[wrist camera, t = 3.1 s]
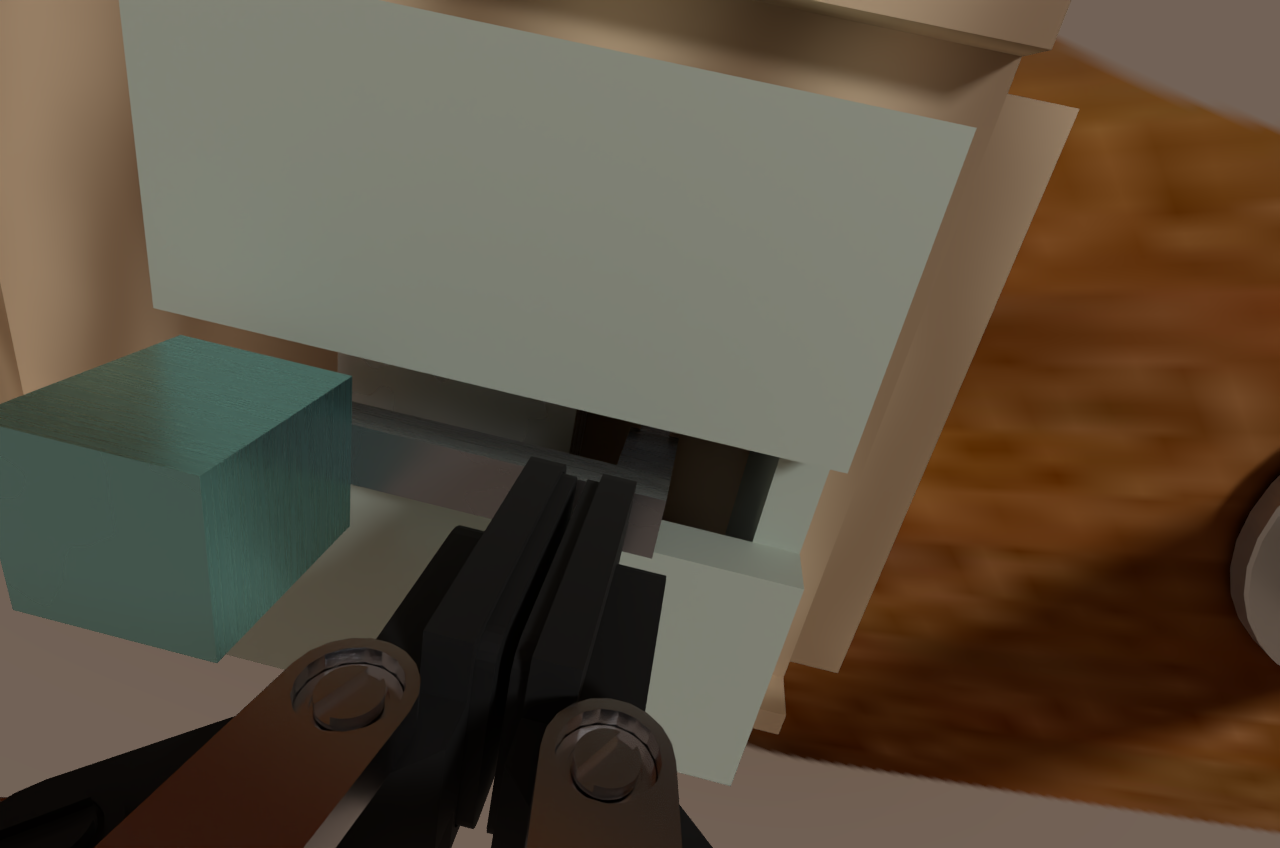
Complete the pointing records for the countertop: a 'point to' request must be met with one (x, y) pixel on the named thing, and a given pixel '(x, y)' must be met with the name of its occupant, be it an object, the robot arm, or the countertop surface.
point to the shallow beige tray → (626, 22)
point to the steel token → (464, 404)
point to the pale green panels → (545, 277)
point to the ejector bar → (233, 487)
